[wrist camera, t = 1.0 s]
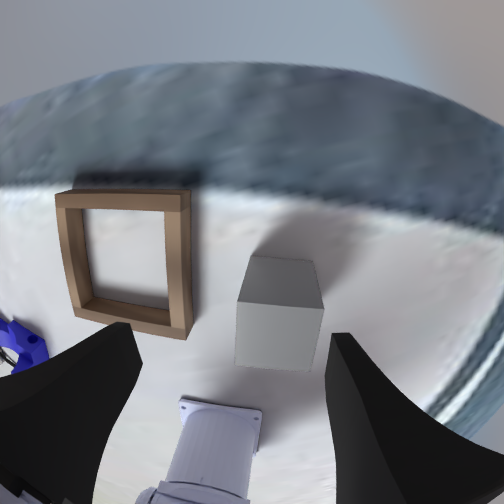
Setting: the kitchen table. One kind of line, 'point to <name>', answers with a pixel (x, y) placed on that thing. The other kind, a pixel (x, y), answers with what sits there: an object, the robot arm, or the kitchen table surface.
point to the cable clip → (23, 345)
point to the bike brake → (5, 359)
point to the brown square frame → (177, 258)
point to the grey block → (278, 315)
